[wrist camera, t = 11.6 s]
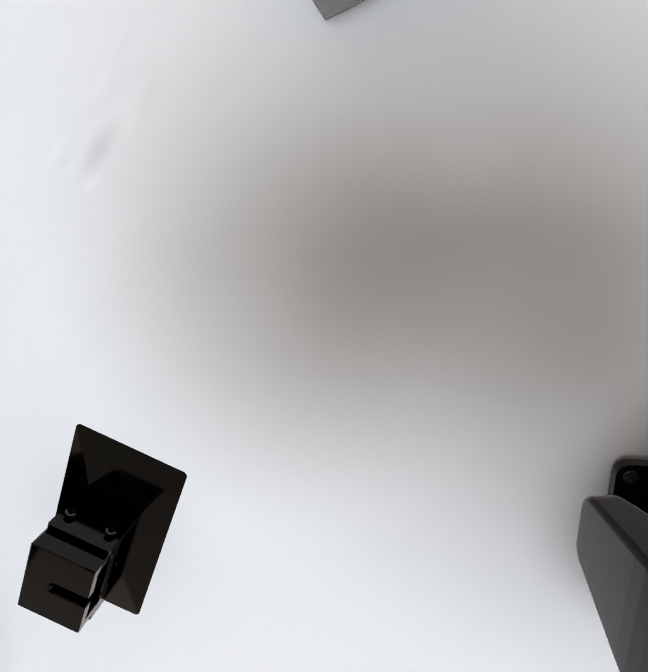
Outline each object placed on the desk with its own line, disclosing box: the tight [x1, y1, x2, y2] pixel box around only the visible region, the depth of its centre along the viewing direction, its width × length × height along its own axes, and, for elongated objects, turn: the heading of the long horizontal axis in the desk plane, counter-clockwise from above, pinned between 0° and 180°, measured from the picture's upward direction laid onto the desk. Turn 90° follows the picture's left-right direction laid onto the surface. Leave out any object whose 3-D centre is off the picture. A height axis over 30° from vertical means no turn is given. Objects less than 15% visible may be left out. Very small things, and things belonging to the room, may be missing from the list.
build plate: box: [18, 424, 187, 632], centre depth 23 cm, size 12×7×5 cm, turn 159°
